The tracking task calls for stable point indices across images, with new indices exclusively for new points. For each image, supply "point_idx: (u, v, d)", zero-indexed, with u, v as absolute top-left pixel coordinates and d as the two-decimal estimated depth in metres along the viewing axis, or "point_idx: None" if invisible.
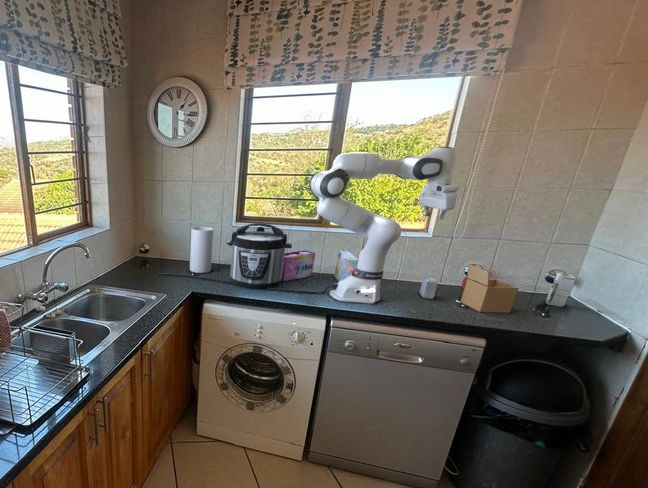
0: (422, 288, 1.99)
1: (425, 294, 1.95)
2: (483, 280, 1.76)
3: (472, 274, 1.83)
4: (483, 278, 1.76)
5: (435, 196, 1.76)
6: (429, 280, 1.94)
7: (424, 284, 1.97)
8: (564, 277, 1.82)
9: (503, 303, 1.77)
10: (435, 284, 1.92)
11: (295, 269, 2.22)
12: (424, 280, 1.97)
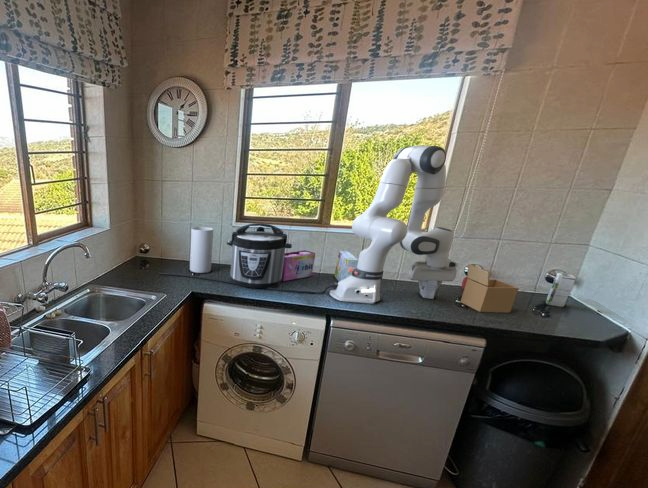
0: None
1: (425, 294, 1.95)
2: (483, 280, 1.76)
3: (472, 274, 1.83)
4: (483, 278, 1.76)
5: (438, 271, 1.92)
6: (429, 280, 1.94)
7: (424, 284, 1.97)
8: (564, 277, 1.82)
9: (503, 303, 1.77)
10: (435, 284, 1.92)
11: (295, 269, 2.22)
12: None
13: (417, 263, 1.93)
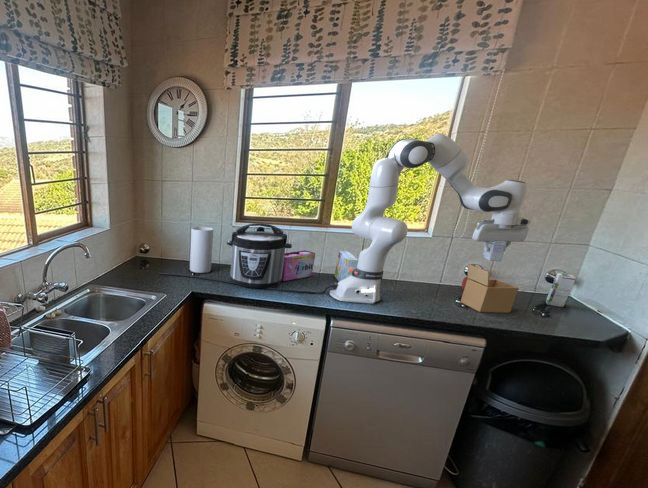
0: None
1: (491, 257, 1.75)
2: (483, 280, 1.76)
3: (472, 274, 1.83)
4: (483, 278, 1.76)
5: (507, 230, 1.72)
6: None
7: (489, 246, 1.77)
8: (564, 277, 1.82)
9: (503, 303, 1.77)
10: (504, 244, 1.72)
11: (295, 269, 2.22)
12: None
13: (483, 221, 1.73)
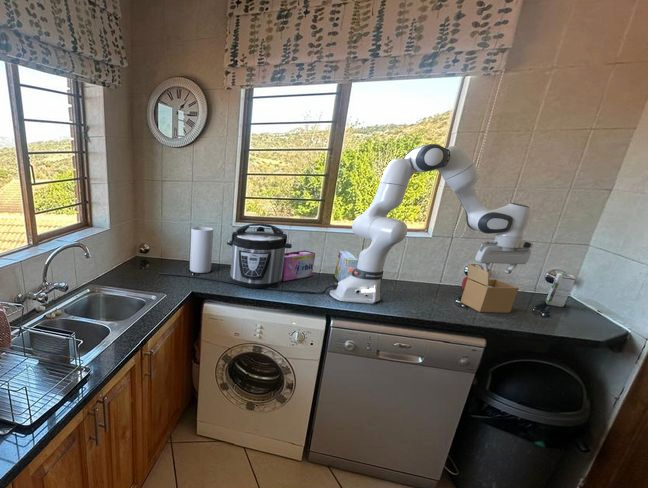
0: None
1: None
2: (483, 280, 1.76)
3: (472, 274, 1.83)
4: (483, 278, 1.76)
5: (510, 252, 1.74)
6: None
7: None
8: (564, 277, 1.82)
9: (503, 303, 1.77)
10: None
11: (295, 269, 2.22)
12: None
13: (487, 243, 1.74)
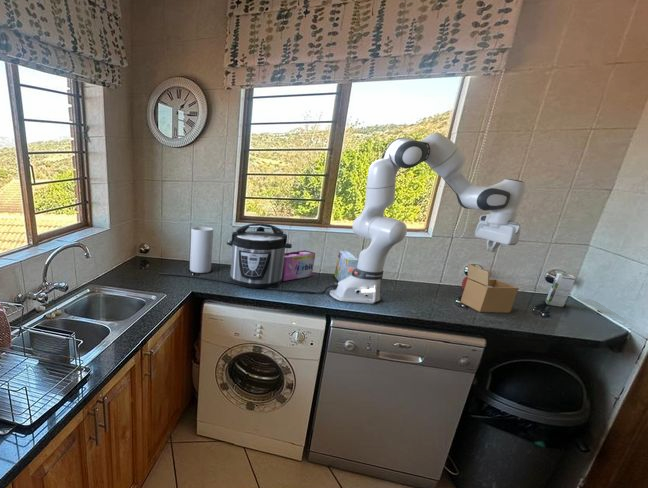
0: None
1: None
2: (483, 280, 1.76)
3: (472, 274, 1.83)
4: (483, 278, 1.76)
5: None
6: None
7: None
8: (564, 277, 1.82)
9: (503, 303, 1.77)
10: None
11: (295, 269, 2.22)
12: None
13: None
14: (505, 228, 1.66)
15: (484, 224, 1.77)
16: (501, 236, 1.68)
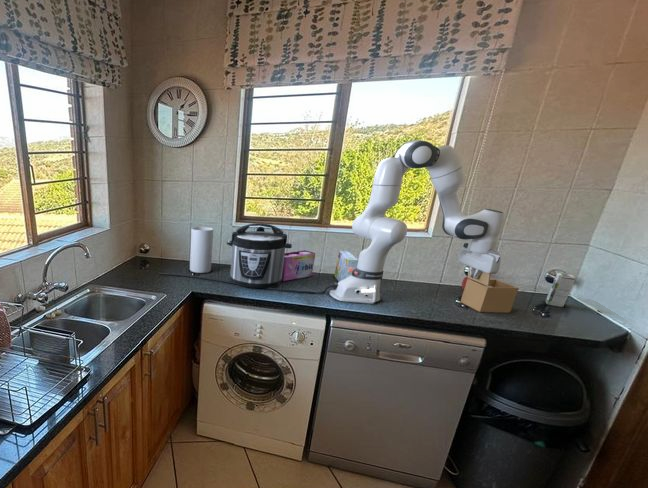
0: None
1: None
2: (483, 280, 1.76)
3: None
4: (484, 278, 1.76)
5: None
6: None
7: None
8: (564, 277, 1.82)
9: (503, 303, 1.77)
10: None
11: (295, 269, 2.22)
12: None
13: None
14: (486, 257, 1.71)
15: (467, 251, 1.81)
16: (483, 264, 1.72)
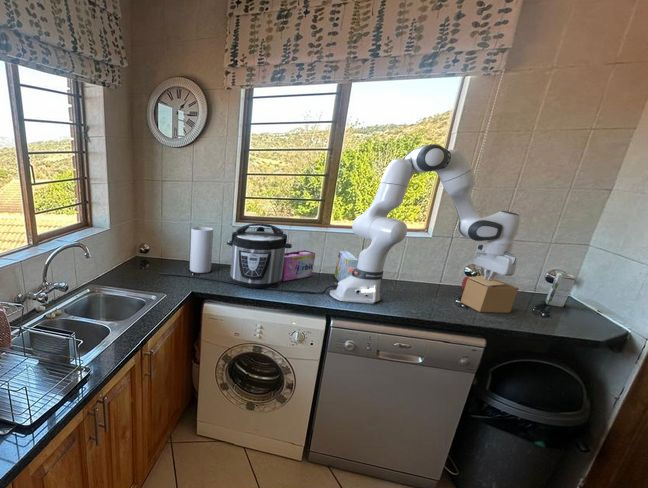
0: None
1: None
2: (488, 283, 1.77)
3: (478, 278, 1.83)
4: (490, 283, 1.77)
5: None
6: None
7: None
8: (564, 277, 1.82)
9: (503, 303, 1.77)
10: None
11: (295, 269, 2.22)
12: None
13: None
14: (501, 259, 1.71)
15: (481, 253, 1.81)
16: (498, 266, 1.72)
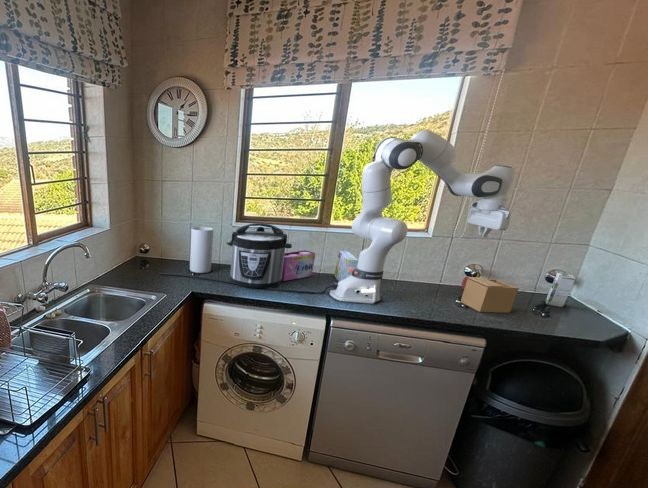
0: None
1: None
2: (488, 283, 1.77)
3: (478, 279, 1.84)
4: (490, 283, 1.77)
5: None
6: None
7: None
8: (564, 277, 1.82)
9: (503, 303, 1.77)
10: None
11: (295, 269, 2.22)
12: None
13: None
14: (496, 214, 1.70)
15: (475, 210, 1.80)
16: (492, 222, 1.71)
